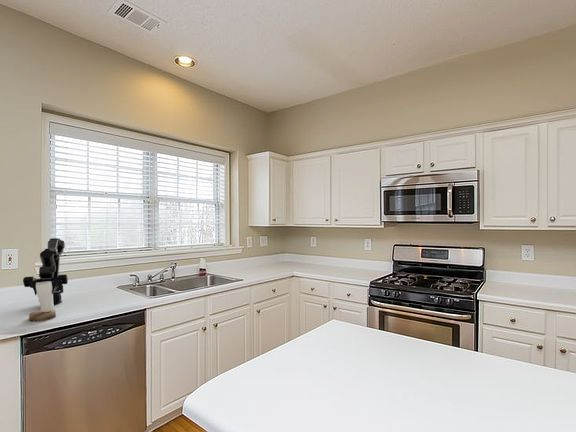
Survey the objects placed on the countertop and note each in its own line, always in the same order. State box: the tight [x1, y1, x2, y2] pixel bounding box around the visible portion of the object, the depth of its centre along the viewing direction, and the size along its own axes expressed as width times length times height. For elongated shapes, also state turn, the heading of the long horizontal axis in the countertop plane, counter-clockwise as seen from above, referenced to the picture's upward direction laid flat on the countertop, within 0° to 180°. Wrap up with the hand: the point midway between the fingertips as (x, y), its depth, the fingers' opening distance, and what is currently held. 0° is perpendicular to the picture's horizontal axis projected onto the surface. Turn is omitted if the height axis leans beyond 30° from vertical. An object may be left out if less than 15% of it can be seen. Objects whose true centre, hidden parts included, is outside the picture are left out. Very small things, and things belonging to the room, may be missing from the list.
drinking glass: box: [36, 281, 55, 312], centre depth 169 cm, size 7×7×15 cm
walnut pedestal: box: [28, 309, 57, 323], centre depth 169 cm, size 11×11×3 cm
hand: (43, 294), depth 168 cm, fingers closed on drinking glass, 7 cm apart
